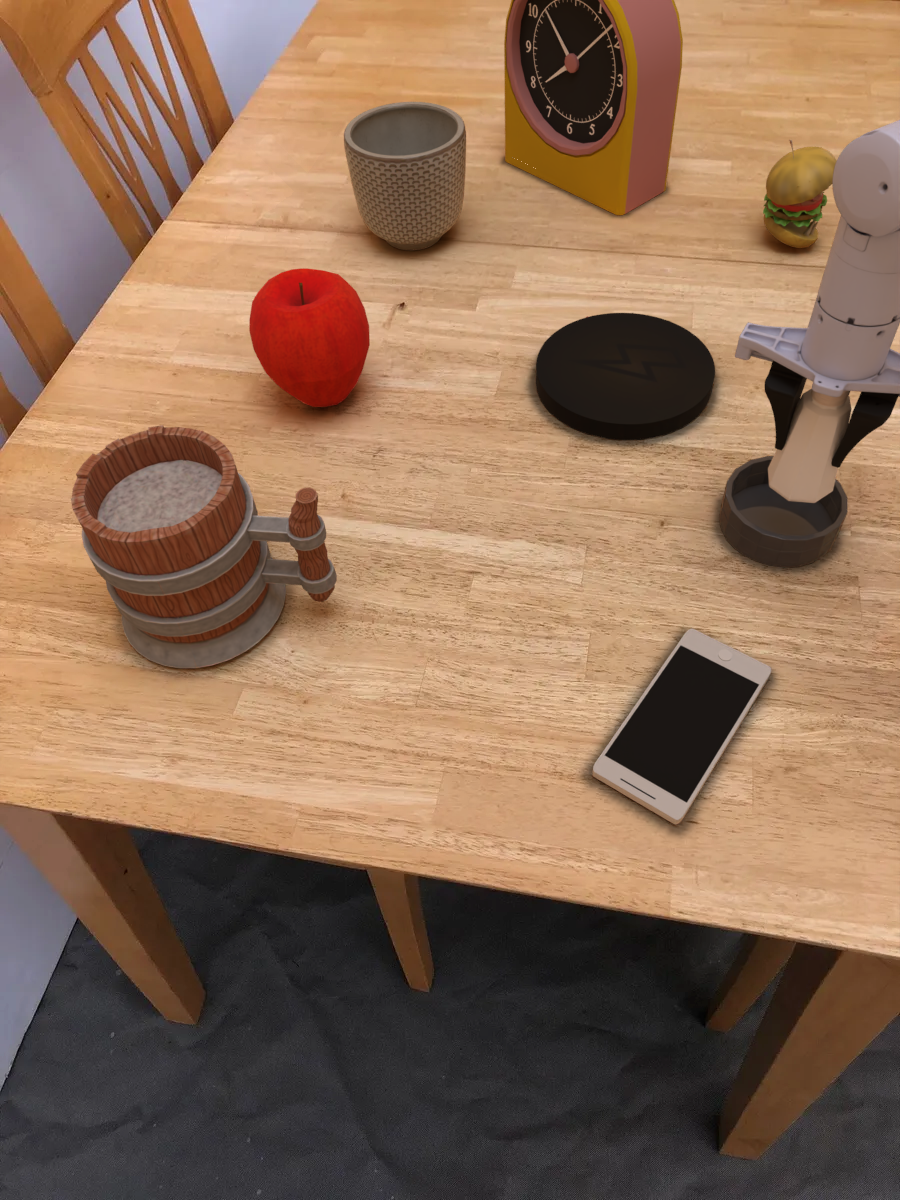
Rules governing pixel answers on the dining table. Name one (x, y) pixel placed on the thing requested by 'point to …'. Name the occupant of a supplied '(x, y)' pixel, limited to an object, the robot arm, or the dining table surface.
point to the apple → (310, 335)
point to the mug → (192, 546)
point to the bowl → (778, 519)
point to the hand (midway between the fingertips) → (809, 450)
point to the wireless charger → (624, 376)
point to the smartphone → (681, 725)
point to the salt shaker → (810, 448)
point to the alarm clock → (593, 95)
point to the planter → (407, 171)
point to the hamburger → (798, 195)
